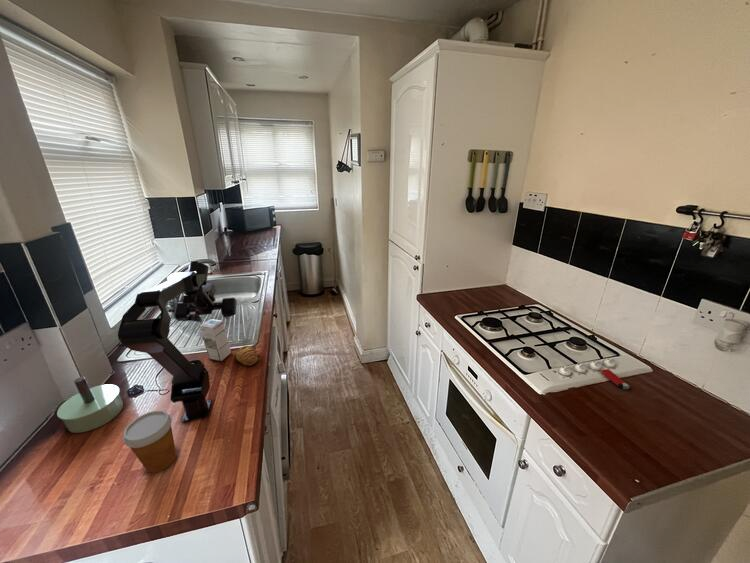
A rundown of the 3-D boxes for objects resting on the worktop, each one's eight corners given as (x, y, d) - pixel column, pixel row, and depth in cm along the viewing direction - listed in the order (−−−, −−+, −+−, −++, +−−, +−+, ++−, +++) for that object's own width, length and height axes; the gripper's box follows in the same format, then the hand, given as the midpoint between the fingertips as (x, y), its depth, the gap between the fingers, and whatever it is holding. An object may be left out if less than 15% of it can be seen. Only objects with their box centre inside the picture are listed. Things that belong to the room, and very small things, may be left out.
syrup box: (231, 352, 118) (224, 319, 112) (220, 361, 112) (212, 327, 107) (219, 350, 119) (211, 317, 114) (208, 359, 114) (198, 325, 108)
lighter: (609, 369, 102) (630, 385, 94) (608, 372, 102) (629, 388, 95) (601, 369, 101) (622, 386, 94) (600, 372, 102) (620, 389, 95)
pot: (111, 426, 86) (105, 412, 84) (56, 437, 83) (48, 424, 81) (130, 395, 97) (125, 383, 95) (82, 404, 94) (76, 392, 92)
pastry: (263, 361, 112) (261, 352, 111) (245, 369, 108) (243, 360, 106) (252, 350, 118) (250, 342, 117) (234, 358, 114) (232, 350, 113)
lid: (107, 415, 84) (95, 390, 81) (46, 427, 80) (31, 402, 77) (128, 383, 96) (119, 360, 93) (76, 392, 93) (64, 369, 89)
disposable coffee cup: (175, 437, 82) (162, 403, 77) (189, 457, 76) (176, 421, 72) (132, 463, 75) (115, 427, 71) (145, 487, 69) (127, 450, 65)
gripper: (231, 274, 104) (243, 298, 117) (171, 279, 101) (190, 302, 114) (228, 303, 98) (241, 324, 111) (164, 309, 95) (185, 330, 108)
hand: (215, 319), depth 111 cm, fingers open, 9 cm apart
